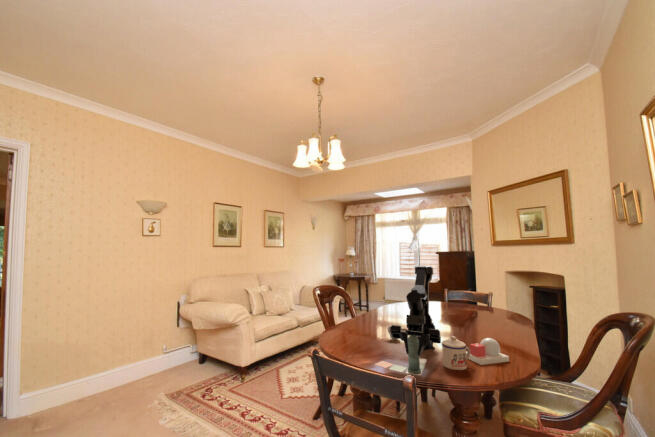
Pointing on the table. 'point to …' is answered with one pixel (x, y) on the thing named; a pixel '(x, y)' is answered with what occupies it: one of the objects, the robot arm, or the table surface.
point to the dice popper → (487, 352)
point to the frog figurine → (390, 333)
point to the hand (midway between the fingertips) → (413, 354)
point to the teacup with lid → (455, 354)
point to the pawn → (413, 355)
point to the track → (401, 368)
